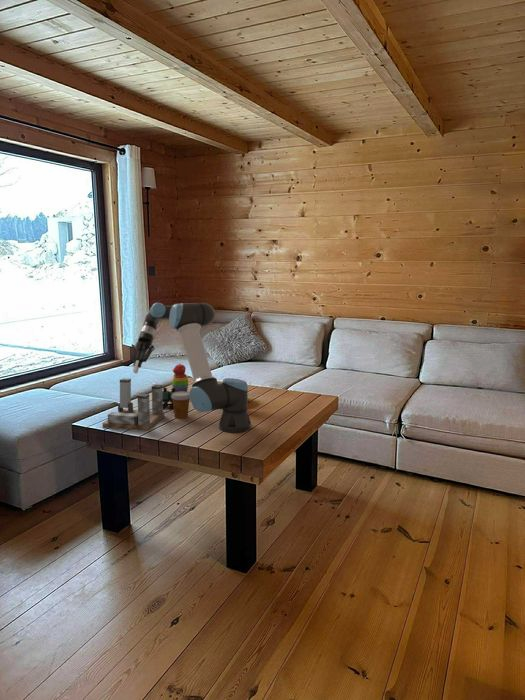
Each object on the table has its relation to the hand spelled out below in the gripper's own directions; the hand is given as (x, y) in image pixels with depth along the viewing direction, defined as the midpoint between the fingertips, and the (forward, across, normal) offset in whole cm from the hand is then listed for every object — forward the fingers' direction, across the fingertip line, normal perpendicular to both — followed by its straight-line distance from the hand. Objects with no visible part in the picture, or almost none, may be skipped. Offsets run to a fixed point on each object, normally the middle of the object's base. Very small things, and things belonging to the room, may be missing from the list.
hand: (135, 372), depth 254 cm
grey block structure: (+29, -9, +2) cm, 30 cm away
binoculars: (+12, -17, -15) cm, 26 cm away
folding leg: (+20, 0, -1) cm, 20 cm away
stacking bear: (-7, -14, -34) cm, 38 cm away
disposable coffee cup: (+21, -29, -6) cm, 36 cm away
